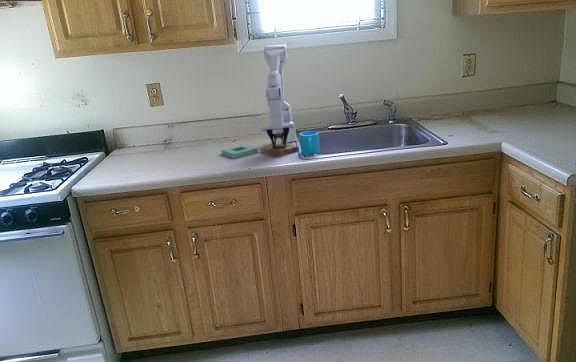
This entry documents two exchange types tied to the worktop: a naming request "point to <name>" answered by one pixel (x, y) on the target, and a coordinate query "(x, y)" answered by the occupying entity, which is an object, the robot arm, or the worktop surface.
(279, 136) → the lock pin
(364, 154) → the worktop surface
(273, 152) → the mount board
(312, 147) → the mug
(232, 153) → the socket board
